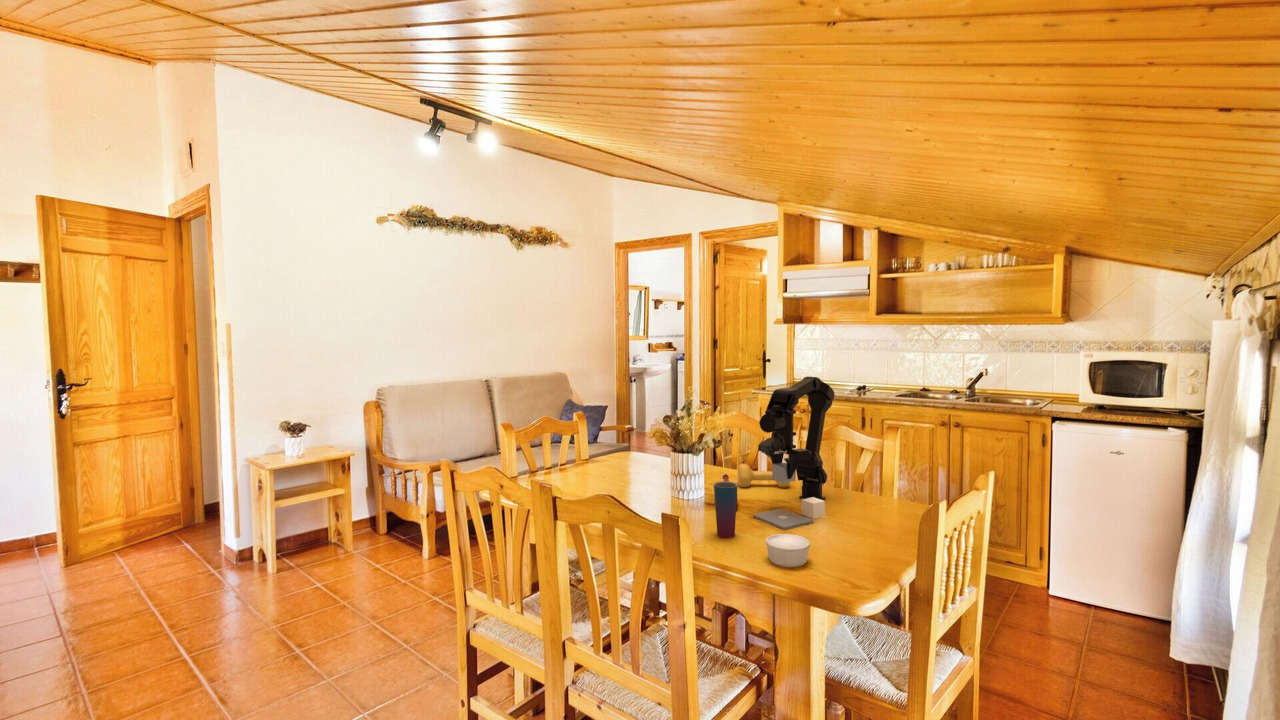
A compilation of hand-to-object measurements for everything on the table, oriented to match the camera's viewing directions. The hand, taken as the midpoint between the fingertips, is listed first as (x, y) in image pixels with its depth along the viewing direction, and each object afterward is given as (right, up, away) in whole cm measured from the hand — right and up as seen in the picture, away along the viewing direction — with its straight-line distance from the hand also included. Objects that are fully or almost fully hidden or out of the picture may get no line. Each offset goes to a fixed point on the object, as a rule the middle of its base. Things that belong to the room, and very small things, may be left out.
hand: (783, 477), depth 196 cm
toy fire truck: (-17, -12, +8) cm, 22 cm away
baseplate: (-2, -12, -7) cm, 14 cm away
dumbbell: (0, -10, +32) cm, 33 cm away
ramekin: (-8, -15, -38) cm, 41 cm away
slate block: (0, -1, 0) cm, 1 cm away
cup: (-21, -13, -19) cm, 31 cm away
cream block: (+9, -12, -3) cm, 15 cm away
